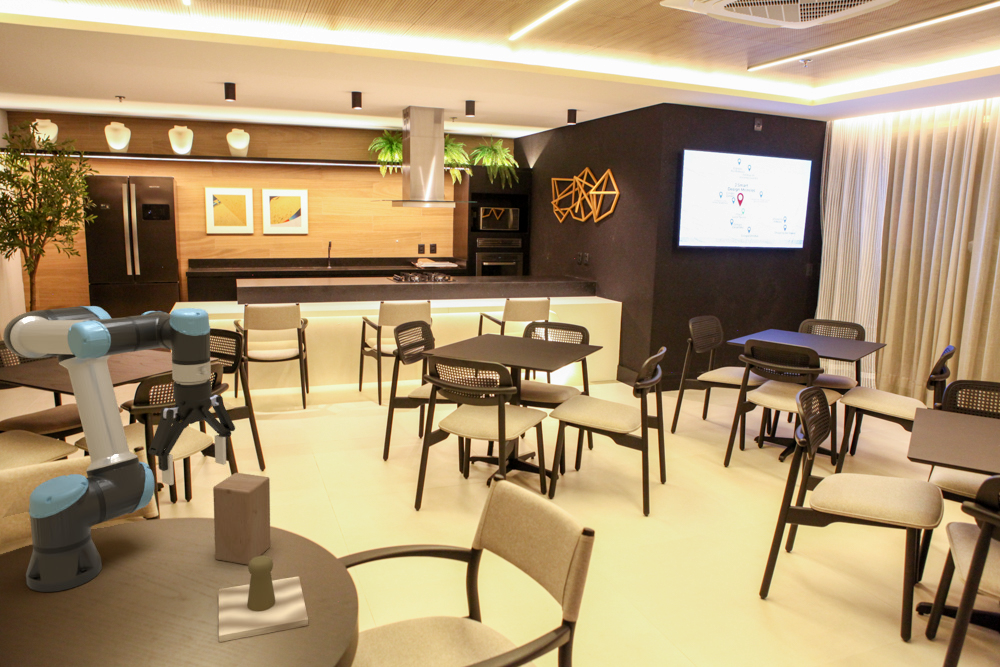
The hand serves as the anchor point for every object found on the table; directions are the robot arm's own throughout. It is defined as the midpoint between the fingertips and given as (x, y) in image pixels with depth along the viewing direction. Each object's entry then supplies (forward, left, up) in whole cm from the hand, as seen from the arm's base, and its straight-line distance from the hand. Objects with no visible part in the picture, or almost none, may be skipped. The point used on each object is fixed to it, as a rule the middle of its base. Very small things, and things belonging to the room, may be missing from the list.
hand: (195, 472), depth 147 cm
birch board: (+9, +13, -31) cm, 35 cm away
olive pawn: (+9, +13, -29) cm, 33 cm away
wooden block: (-18, +10, -31) cm, 37 cm away
